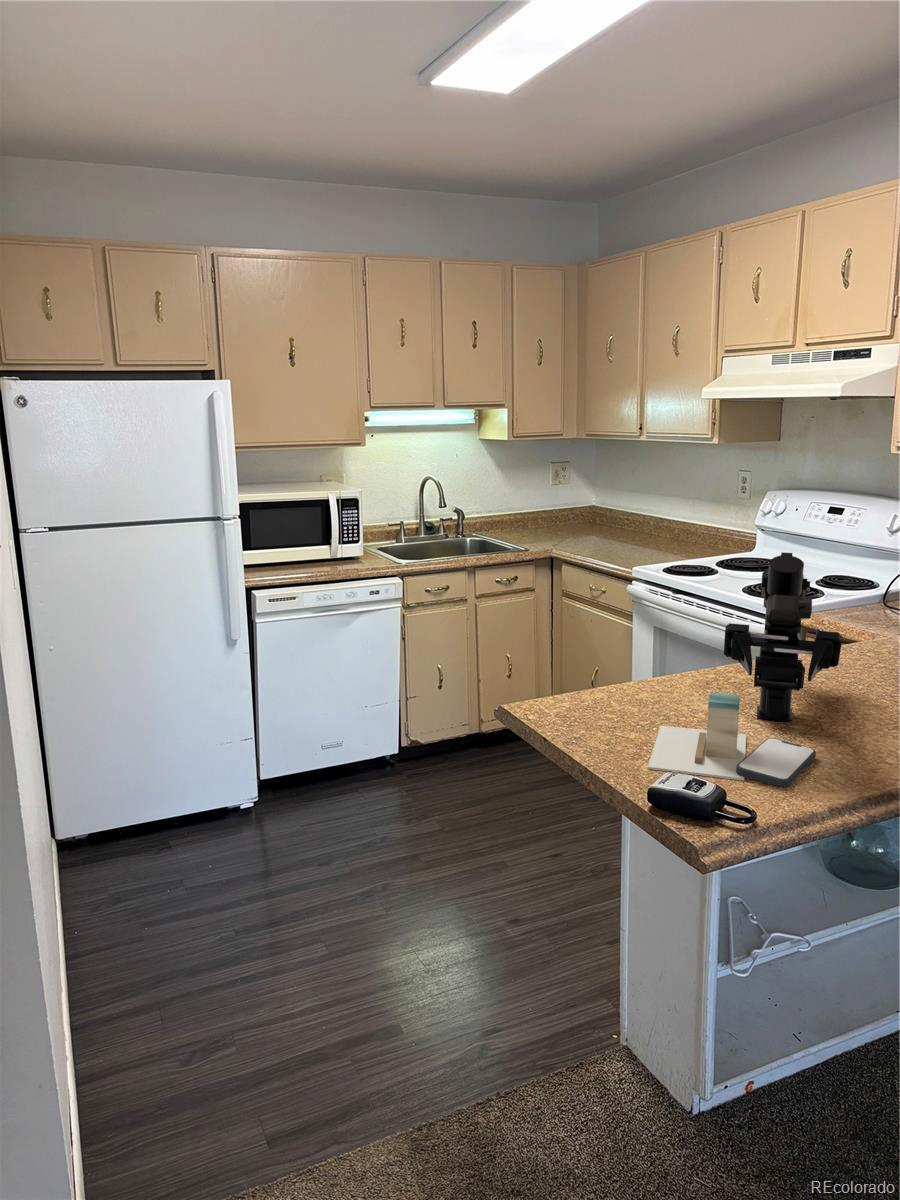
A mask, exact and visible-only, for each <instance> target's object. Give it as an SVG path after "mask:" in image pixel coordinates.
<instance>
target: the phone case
mask: <svg viewBox="0 0 900 1200" xmlns="http://www.w3.org/2000/svg"><path fill="white" fill-rule="evenodd" d="M816 757H817V751H816V750H815V749H814V748H813V747H809V746H805V745H802V744H797V743H794V742H790V741H787V740H782V739H778V738H774V737H773V738H772V737H770V738H769V737H767V738H766V739H765V740H764V741H763V742H761V743H760V744H759V745H757V746H756V748H754V749H753V750H752V751H751V752H750V753H748V755H746V756H745V758H744V759H743V760H742V761H741V762H740V763H739V764H738V765H737V766H736V772H737V774H739V775H741V776H744V778H745V777H746V778H748V779H752V780H756V781H758V782H763V783H766V784H769V785H772V786H777V787H781V788H787V787H789V786H790V785H791V784H792V783H793V782H794V781H795V779H797V778H798V777H799V775H801V774H802V772H804V770H805V769H806V768H807V767H808V766H809V765H810V764H811V762H813V761H814V759H816Z"/></svg>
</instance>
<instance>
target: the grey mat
mask: <svg viewBox="0 0 900 1200" xmlns="http://www.w3.org/2000/svg"><path fill="white" fill-rule="evenodd" d="M706 741H707V729H706V730H705V729H697V728H688V727H680V726H678V727H677V726H670V725H660V726H659V729H658V733H657V735H656V739H655V742H654V745H653V749H652V752H651V755H650V758H649V762H648V765H647V769H648V770H654V771H663V772H669V771H675V772H674V773H677V772H681V773H680V774H686V775H697V776H703V777H712V778H718V779H719V778H721V779H727V780H728V779H729V780H735V781H743V782H744V781H745V776H741V775H739V774H737V772H736V766H737V765H738V764H739V763H740V762H741V761H742V760H743V759H744V758H745V757H746V752H747V751H746V750H747V749H746V748H747V734H746V733H738V737H737V752H736V760H735V759H726V758H718V757H709V756H706Z"/></svg>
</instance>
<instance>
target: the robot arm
mask: <svg viewBox="0 0 900 1200" xmlns="http://www.w3.org/2000/svg"><path fill="white" fill-rule="evenodd" d="M804 567H805V562H804V561H803V560H802V559H800V558H799V557H797V556H794V555H793V552H782V551H781V553H780V555H777V556H775V557H773V558H771V559H770V560H769V562H768V568H767V569H765V570H764V571H763V572H762V573H761V583H760V585H761V586H760V588H761V589H760V598H763V607H764V608H765V619H764V633H760V632H750V624H743V623H740V624H739V623H728V624H727V625H726V626H725V629H724V642H723V643H724V644H723V646H724V647H723V655H724V656H725V657H727V658H731V659H732V660H733V661H737V662H738V663H739V664H740V665H741V666H742V667H743V669H744V670H745V672H746V673H747V674H748V675H749V676H752V675H753V674H752V673H753V658H752V657H753V655H752V648H751V647H760V649H759V655H758V656H757V655H755V662H754V677H753V680H754V681H753V687H755V688H757V687H759V688H760V692H759V693H760V696H759V705H757V706H756V719H758V720H759V719H760V720H769V721H770V720H771V721H778V722H780V721H781V722H790V723H791V722H793V721H794V720H793V718H794V717H793V709H792V708H791V707H792V706H791V705H792V697H793V696H792V693H793V691H797V692H799V691H800V690H801V689H804V684H805V683H804V682H805V675H806V674H805V673H806V667H805V666H804V663H803V659H799V654H801V655H811V659H810V663H809V668H808V673H807V682H812V680H814V678H815V677H816V675H817V674H818V673H820V672H821V671H822V670H824V669H826V670H827V669H830V668H835V667H837V666H838V665H839V662H840V656H841V649H842V644H843V639H842V635H841V633H840V632H837V631H826V630H825V631H824V630H816V632H815V639H814V640H807V639H805V640H804V639H800V634H801V631H802V630H801V629H802V620H804V619H805V620H807V619H808V620H810V619H811V617H812V611H813V598H811V597H807V594H809V592H810V589H811V581H809V580H808V578H804Z"/></svg>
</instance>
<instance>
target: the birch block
mask: <svg viewBox="0 0 900 1200" xmlns="http://www.w3.org/2000/svg"><path fill="white" fill-rule="evenodd" d="M740 697H741V695H740V694H731V693H730V694H729V693H720V692H710V693H709V697H708V706H707V707H708V708H707V723H706V724H707V725H706V730H707V741H706V756H709V757H718V758H726V759H735V760H736V752H737V737H738V734H739V733H738V731H739V720H740V719H739V717H740V716H739V715H740V704H741V703H740V700H741V698H740Z"/></svg>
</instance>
